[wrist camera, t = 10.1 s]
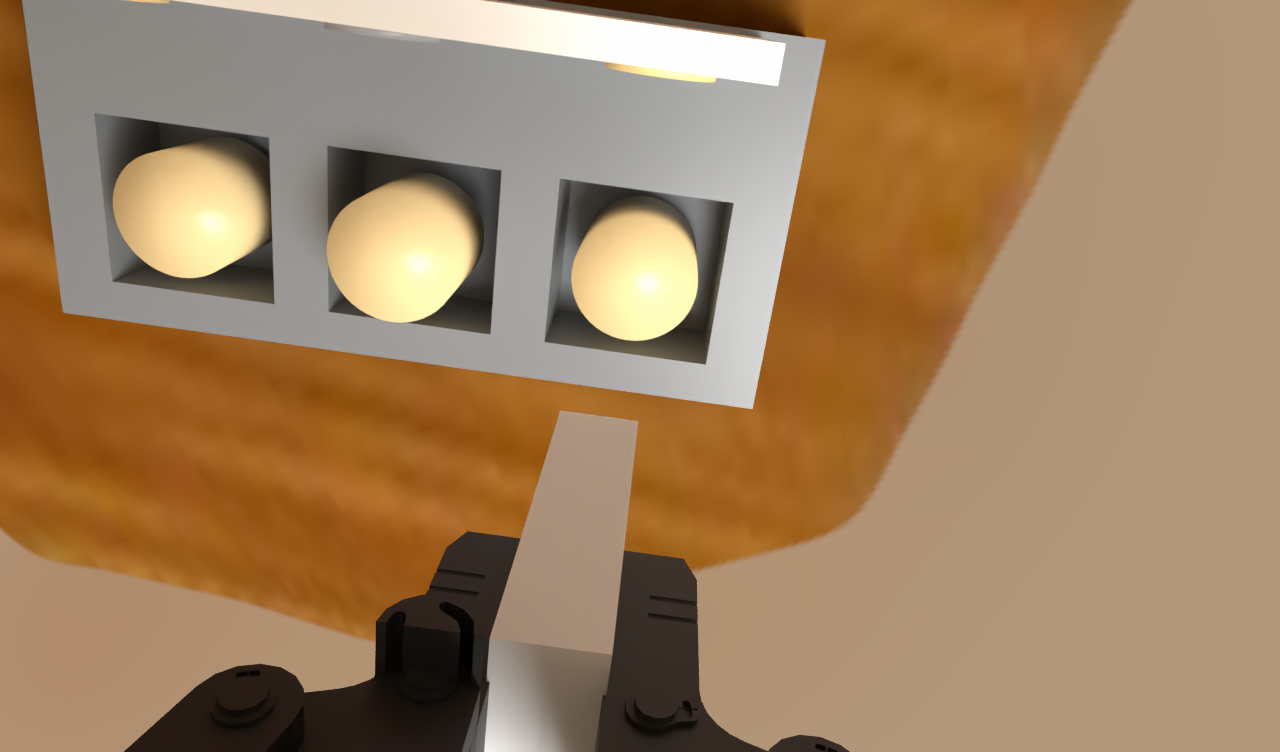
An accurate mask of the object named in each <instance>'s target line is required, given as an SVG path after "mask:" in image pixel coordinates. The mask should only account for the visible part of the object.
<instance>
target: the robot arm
mask: <svg viewBox="0 0 1280 752" xmlns="http://www.w3.org/2000/svg"><path fill="white" fill-rule="evenodd" d="M637 428H638V421H634V420H626V419H619V418H612V417H605V416H597V415H590V414H583V413H576V412H568V411H561V410H560V414H559V417H558V420H557V423H556V426H555V430H554V433H553V436H552V439H551V443H550V446H549V449H548V452H547V455H546V459H545V462H544V465H543V468H542V472H541V475H540V478H539V481H538V484H537V488H536V491H535V494H534V497H533V500H532V504H531V507H530V510H529V513H528V517H527V520H526V523H525V526H524V529H523V533H522V536H521V539H519V538H512V537H505V536H497V535H490V534H483V533H476V532H468V531H467V532H466V533H465V534H463V535H462V536H461V537H460V538H458V539H457V540H456V541H455V542H453V543H452V544H451V545H449V546H448V547H447V548H446V550H445V552H444V555H443V557H442V559H441V561H440V564H439V566H438V568H437V573H435V575H434V577H433V579H432V582H431V584H430V588H429V590H428V591H427V593H426V595H420V596H416V597H412V598H408V599H403V600H402V601H400V602H398V603H396V604H394V605H393V606H391V607H389V608H387V609H386V610H385V611H384V613H383V614H382V615H381V616H380V617H379V618H378V620H377V621H376V657H375V658H376V659H375V676H374V678H372V679H370V680H368V681H365V682H363V683H360V684H357V685H355V686H350V687H345V688H340V689H333V690H324V691H315V692H307V693H304V689H303V687H302V685H301V684H300V682H299V681H298V679H297V677H296V676H295V675H293V674H291V673H290V672H288V671H286V670H284V669H283V668H281V667H276V666H270V665H263V664H255V665H245V666H237V667H234V668H231V669H228V670H225V671H223V672H220V673H217V674H215V675H213V676H212V677H210V678H209V679H207V680H206V681H204V682H203V683H201V684H200V685H198V686H197V687H195V688H194V689H193V690H192V691H191V692H190V693H189V694H188V695H186V696H185V697H184V698H183V699H182V700H181V701H180V702H179V703H178V704H176V705H175V706H174V707H173V708H172V709H171V710H170V711H169V712H168V713H166V714H165V715H164V716H163V717H162V718H161V719H160V720H159V721H157V722H156V723H155V724H154V725H153V726H152V727H151V728H150V729H149V730H147V731H146V732H145V733H144V734H143V735H142V736H141V737H140V738H139V739H137V740H136V741H135V742H134V743H133V744H132V745H131V746H130V747H129V748H128V749H126V750H125V751H124V752H768V751H766V750H763V749H761V748H759V747H756V746H754V745H751V744H749V743H746V742H744V741H742V740H740V739H738V738H736V737H734V736H732V735H730V734H729V733H728V732H726V731H725V730H724V729H722V728H721V727H720V726H718V725H717V724H716V723H715V722H714V720H713V719H712V718H711V717H710V716H709V715H708V713H707V712H706V710H705V708H704V705H703V703H702V702H701V697H700V692H699V665H698V663H699V662H698V661H699V660H698V625H697V580H696V578H695V576H694V575H693V573H692V572H691V570H690V568H689V567H688V565H687V564H686V562H685V560H684V559H681V558H674V557H667V556H659V555H652V554H645V553H637V552H630V551H624V545H625V536H626V527H627V518H628V509H629V500H630V491H631V482H632V473H633V464H634V455H635V446H636V437H637ZM769 752H849V751H848V750H846V749H845V748H844V747H842V746H841V745H839V744H836V743H834V742H831V741H829V740H826V739H824V738H821V737H815V736H805V735H797V736H793V737H789V738H785V739H782V740H780V741H779V742H778V743H777V744H775V745H774V746H773V747H772V748H770V749H769Z"/></svg>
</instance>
